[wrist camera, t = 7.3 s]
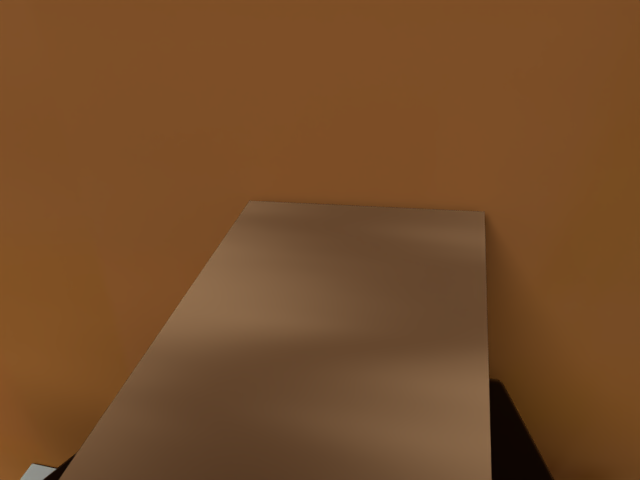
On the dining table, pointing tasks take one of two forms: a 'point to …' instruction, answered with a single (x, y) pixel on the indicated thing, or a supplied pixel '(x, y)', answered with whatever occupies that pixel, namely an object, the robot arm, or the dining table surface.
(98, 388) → the dining table surface
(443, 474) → the wooden mallet
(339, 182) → the dining table surface
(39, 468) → the grey bridge
